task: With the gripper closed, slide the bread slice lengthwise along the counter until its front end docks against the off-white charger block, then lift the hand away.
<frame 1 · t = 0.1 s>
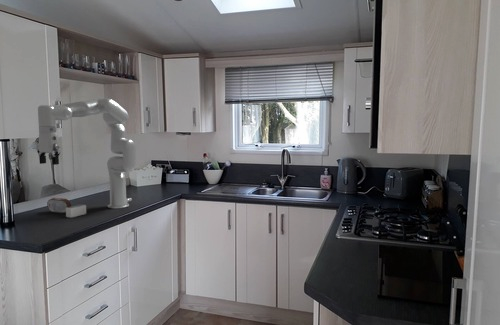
hand: (49, 164, 185), 31 cm above the worktop, tool pointing down, fingers open, 9 cm apart
charger: (76, 215, 206), on the worktop
bread slice: (59, 212, 213), on the worktop
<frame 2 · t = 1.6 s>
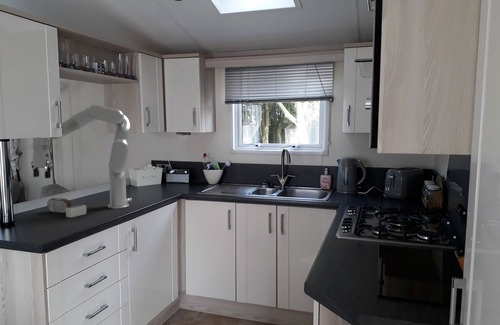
hand: (42, 177, 212), 20 cm above the worktop, tool pointing down, fingers open, 9 cm apart
nothing on the worktop moved.
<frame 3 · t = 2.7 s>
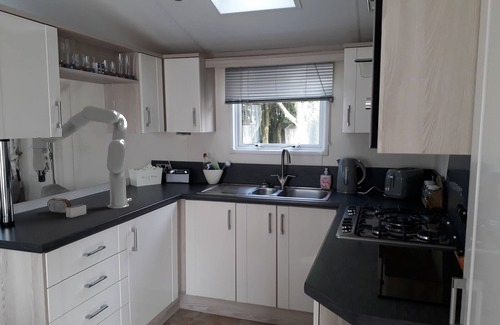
hand: (42, 181, 217), 17 cm above the worktop, tool pointing down, fingers closed
nothing on the worktop moved.
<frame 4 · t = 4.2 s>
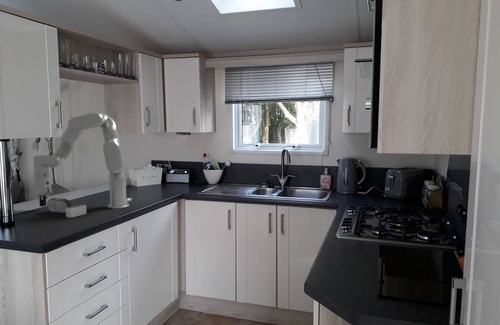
hand: (43, 205, 218), 2 cm above the worktop, tool pointing down, fingers closed
nothing on the worktop moved.
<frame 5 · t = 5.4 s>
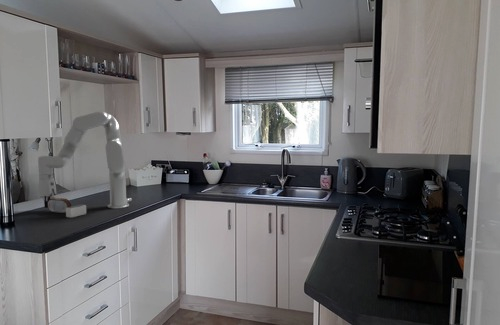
hand: (47, 207, 217), 2 cm above the worktop, tool pointing down, fingers closed
bread slice: (59, 212, 213), on the worktop, touching gripper
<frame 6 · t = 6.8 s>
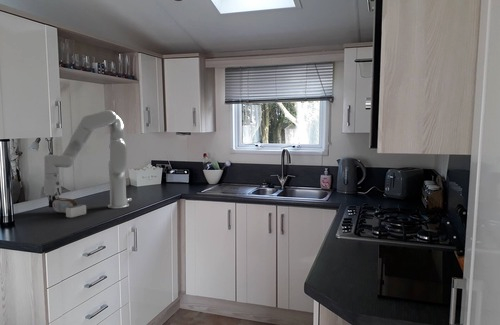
hand: (52, 206, 213), 3 cm above the worktop, tool pointing down, fingers closed
bread slice: (64, 213, 210), on the worktop, touching charger, gripper
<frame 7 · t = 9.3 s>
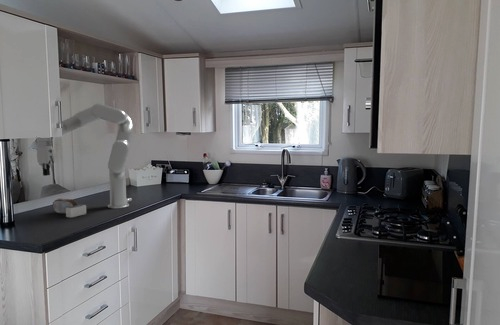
hand: (46, 175, 215), 21 cm above the worktop, tool pointing down, fingers closed
bread slice: (65, 213, 210), on the worktop
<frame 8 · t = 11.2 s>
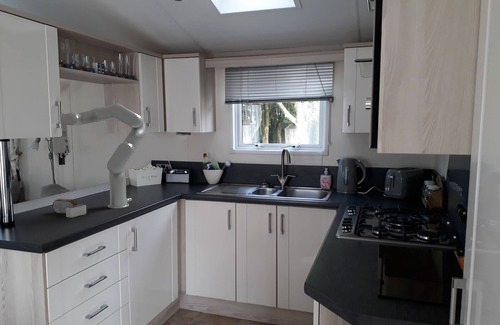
hand: (61, 164, 218), 27 cm above the worktop, tool pointing down, fingers closed
nothing on the worktop moved.
at the end: bread slice 0.1 cm from the target spot, on the worktop; bread slice tilted 0°; bread slice moved 5.1 cm from its start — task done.
